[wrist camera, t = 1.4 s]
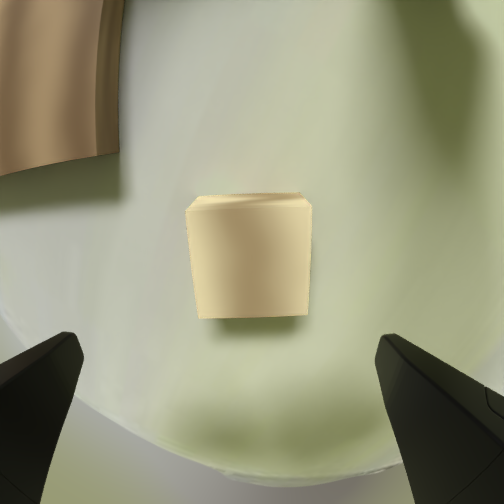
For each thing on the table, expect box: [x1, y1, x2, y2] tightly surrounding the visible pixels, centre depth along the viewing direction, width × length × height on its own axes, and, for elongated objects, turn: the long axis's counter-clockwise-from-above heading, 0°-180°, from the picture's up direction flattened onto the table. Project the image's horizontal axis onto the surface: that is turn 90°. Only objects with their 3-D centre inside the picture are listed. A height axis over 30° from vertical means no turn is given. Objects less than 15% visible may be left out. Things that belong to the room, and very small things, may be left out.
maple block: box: [185, 192, 312, 318], centre depth 17 cm, size 6×6×4 cm
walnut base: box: [0, 0, 125, 176], centre depth 12 cm, size 14×16×3 cm
